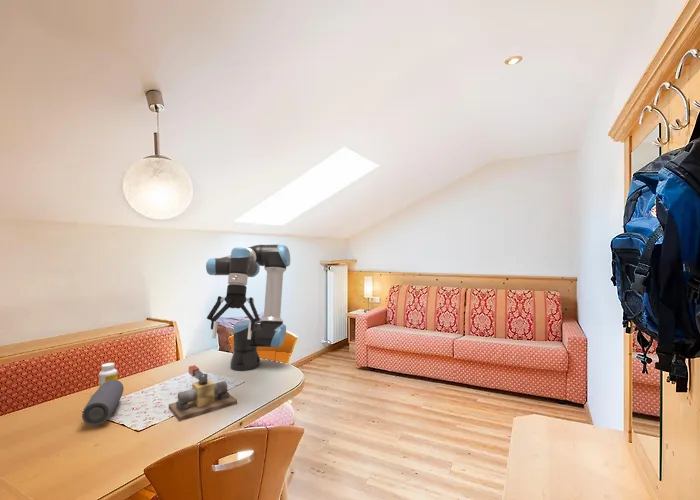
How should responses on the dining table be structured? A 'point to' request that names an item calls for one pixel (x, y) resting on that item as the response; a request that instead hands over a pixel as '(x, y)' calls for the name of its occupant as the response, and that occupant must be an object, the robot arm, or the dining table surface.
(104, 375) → the supplement bottle
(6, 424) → the dining table surface
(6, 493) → the dining table surface
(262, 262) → the robot arm
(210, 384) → the valve
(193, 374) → the lever
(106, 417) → the bluetooth speaker
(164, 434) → the dining table surface
